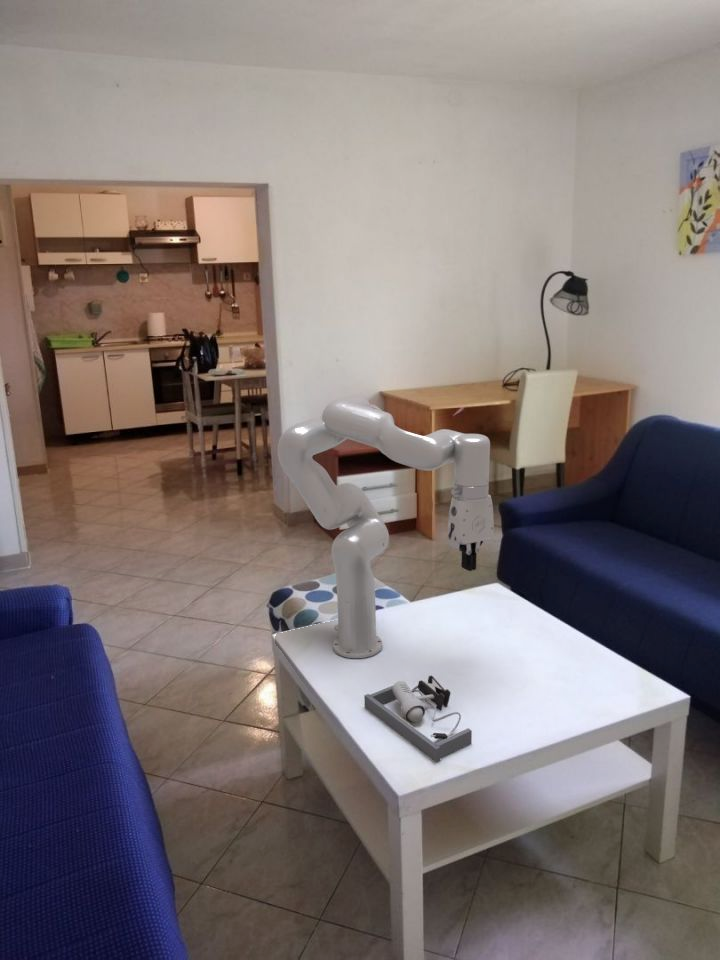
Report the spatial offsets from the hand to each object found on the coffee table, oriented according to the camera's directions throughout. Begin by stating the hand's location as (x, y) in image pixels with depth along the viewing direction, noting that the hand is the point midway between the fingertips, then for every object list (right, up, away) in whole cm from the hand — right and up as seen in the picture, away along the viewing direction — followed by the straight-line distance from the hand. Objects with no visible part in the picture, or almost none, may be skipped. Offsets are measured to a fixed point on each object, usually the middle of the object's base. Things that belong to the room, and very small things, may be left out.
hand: (468, 568), depth 165 cm
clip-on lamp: (-10, -31, -11) cm, 34 cm away
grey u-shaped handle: (-13, -31, -14) cm, 36 cm away
